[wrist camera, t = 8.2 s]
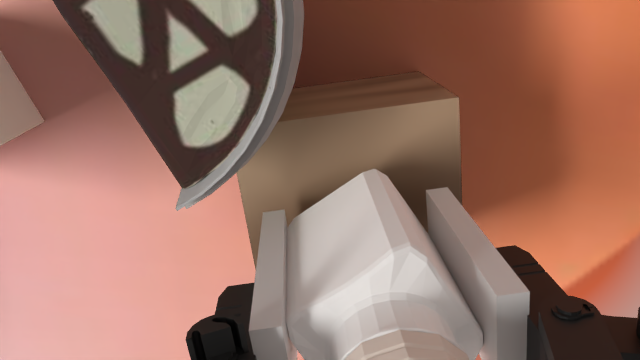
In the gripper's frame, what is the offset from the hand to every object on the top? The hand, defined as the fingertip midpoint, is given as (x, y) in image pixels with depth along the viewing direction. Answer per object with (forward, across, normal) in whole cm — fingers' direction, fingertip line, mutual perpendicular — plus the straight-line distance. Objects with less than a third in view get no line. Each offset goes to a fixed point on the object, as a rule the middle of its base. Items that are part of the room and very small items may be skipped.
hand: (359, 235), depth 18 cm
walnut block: (+7, 0, 0) cm, 7 cm away
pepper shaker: (+1, 0, 0) cm, 1 cm away
